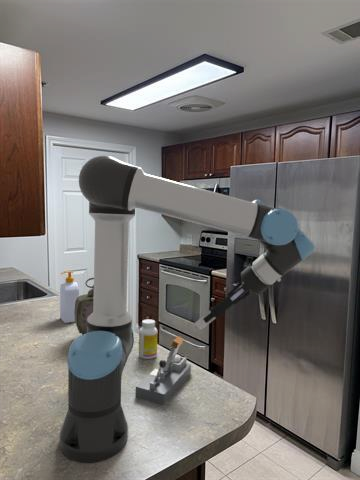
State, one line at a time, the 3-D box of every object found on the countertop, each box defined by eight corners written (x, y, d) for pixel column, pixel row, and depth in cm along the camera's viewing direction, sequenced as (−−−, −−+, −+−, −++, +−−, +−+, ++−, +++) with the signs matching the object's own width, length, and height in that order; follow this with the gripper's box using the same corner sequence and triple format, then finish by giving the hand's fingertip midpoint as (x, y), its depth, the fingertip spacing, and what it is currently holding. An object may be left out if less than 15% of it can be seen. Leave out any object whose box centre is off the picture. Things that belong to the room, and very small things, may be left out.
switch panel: (190, 373, 112) (191, 358, 111) (164, 404, 93) (164, 387, 93) (165, 367, 115) (166, 353, 115) (135, 396, 97) (136, 379, 96)
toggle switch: (158, 384, 98) (168, 361, 96) (155, 387, 96) (165, 364, 94) (153, 380, 99) (162, 357, 97) (149, 383, 97) (159, 360, 95)
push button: (182, 361, 111) (182, 355, 111) (177, 365, 108) (177, 359, 108) (171, 359, 113) (172, 353, 112) (167, 363, 109) (167, 357, 109)
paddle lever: (169, 372, 105) (183, 339, 103) (164, 378, 102) (178, 343, 99) (165, 369, 106) (178, 336, 103) (159, 374, 102) (173, 340, 100)
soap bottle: (58, 318, 161) (58, 270, 159) (73, 316, 165) (73, 269, 163) (63, 324, 154) (63, 273, 152) (78, 321, 157) (79, 272, 155)
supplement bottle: (160, 356, 124) (161, 321, 123) (147, 361, 119) (148, 325, 118) (148, 350, 128) (149, 317, 127) (134, 355, 124) (135, 320, 123)
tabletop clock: (76, 344, 131) (77, 280, 129) (73, 336, 140) (73, 276, 137) (113, 340, 137) (114, 278, 135) (108, 332, 146) (109, 274, 143)
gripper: (266, 291, 84) (199, 344, 91) (273, 281, 96) (214, 329, 104) (245, 267, 85) (181, 322, 93) (255, 260, 98) (198, 309, 106)
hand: (198, 325), depth 98 cm, fingers closed
